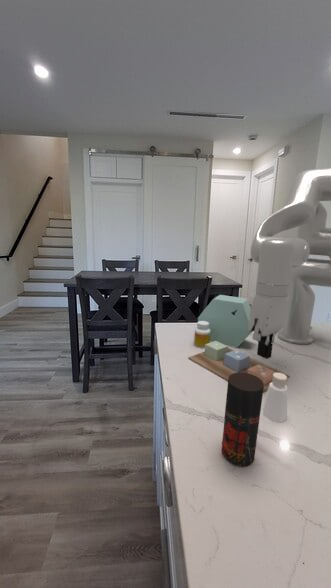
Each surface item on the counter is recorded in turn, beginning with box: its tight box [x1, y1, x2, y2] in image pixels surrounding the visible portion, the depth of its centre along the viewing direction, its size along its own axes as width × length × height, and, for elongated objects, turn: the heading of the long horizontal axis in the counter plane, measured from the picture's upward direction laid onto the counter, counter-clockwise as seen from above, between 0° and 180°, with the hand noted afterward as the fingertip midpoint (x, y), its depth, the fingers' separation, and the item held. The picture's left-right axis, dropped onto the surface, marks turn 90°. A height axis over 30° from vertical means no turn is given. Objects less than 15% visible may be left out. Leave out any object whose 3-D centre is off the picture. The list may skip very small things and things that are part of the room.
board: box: [187, 347, 290, 394], centre depth 78 cm, size 16×24×2 cm, turn 38°
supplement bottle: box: [193, 320, 211, 349], centre depth 92 cm, size 5×5×10 cm
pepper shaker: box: [262, 373, 289, 423], centre depth 58 cm, size 5×5×11 cm
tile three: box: [247, 364, 275, 386], centre depth 72 cm, size 5×5×4 cm
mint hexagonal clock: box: [197, 294, 253, 349], centre depth 96 cm, size 17×8×21 cm
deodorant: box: [221, 372, 264, 468], centre depth 48 cm, size 6×6×15 cm
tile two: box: [224, 349, 251, 373], centre depth 78 cm, size 5×5×4 cm
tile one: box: [203, 341, 229, 361], centre depth 84 cm, size 5×5×4 cm
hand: (263, 356), depth 71 cm, fingers closed
